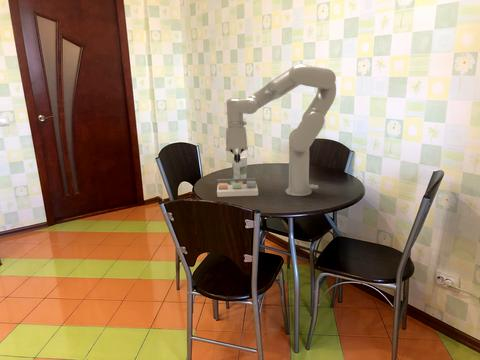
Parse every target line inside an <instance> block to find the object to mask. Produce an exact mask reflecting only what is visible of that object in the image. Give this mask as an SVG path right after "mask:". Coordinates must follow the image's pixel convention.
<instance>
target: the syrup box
mask: <svg viewBox="0 0 480 360" xmlns="http://www.w3.org/2000/svg"><path fill="white" fill-rule="evenodd" d="M231 158H232V159H231V162H232V179H242V178H248V158H247V156H245V155H240V161H239V163H238V161H237V163H236V161H234V156H233V157H231Z"/></svg>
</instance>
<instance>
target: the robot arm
mask: <svg viewBox="0 0 480 360" xmlns="http://www.w3.org/2000/svg"><path fill="white" fill-rule="evenodd" d="M336 81H337V80H336V73H335V72H334V71H333V70H332V69H329V68H323V67H318V66H312V65H307V64H303V63H299V64H295V65H294V66H292V67H290V68H289V69H288V70H286V71H284V72H283V73H281V74H280V75H278V76H277V77H275V78H274V79H272V80H270V81H269V82H268V83H267V84H266V85H264V86H263V87H262V88H260V89H259V90H257V91H256V92H254V93H252V94H251V95H250V96H248V97H246V98H240V97H239V98H238V97H234V98H233V97H231V98H228V99H227V100H226V116H227V117H226V119H227V120H226V121H227V127H226V128H225V129H226V130H225V146H226V147H225V151H226V152H230V153H232V155H233V157H234V161H236V163H237V161H238V163H239V161H240V156H241V154H243V152H245V151H248V150H249V148H248V137H247V130H246V125H247V121H244V114H245V115H246V114H247V115H253V114H255V113H256V112H257V111H258V110H259V109H260V108H263V107H264V106H267V104H269V103H270V102H272V101H275V100H277V99H280V98H281V97H283V96H285V95H286V94H288V93H290V92H291V91H293V90H294V89H296V88H297V87H298V86H301V85H302V86H305V87H306V86H307V87H311V88H317V92H316V94H315V96H314V97H313V100H312V101H311V103H310V104H309V105H308V107H307V109H306V110H305V112H304V113H303V115H302V117H301V121H300V123H299V124H298V126H297V127H296V128H294V129H293V130H292V131H290V133H289V135H288V136H289V138H288V151H289V152H288V187H287V188H286V189H285V194H286V195H289V196H293V197H305V196H306V197H307V196H310V195H311V194H312V190H318V189H319V185H318V184H316V185H315V184H310V183H309V181H310V180H309V179H310V177H309V174H310V171H309V170H310V147H311V146H312V144H313V143H314V141H315V140H316V138H317V137H318V135H319V134H320V132H321V130H322V129H323V128H324V126H325V125H324V124H325V116H326V115H327V114H328V112H329V110H330V108H331V107H332V105H333V103H334V102H335V100H336V95H337V85H336ZM236 149H237V152H236Z"/></svg>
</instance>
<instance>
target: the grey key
mask: <svg viewBox="0 0 480 360" xmlns="http://www.w3.org/2000/svg"><path fill="white" fill-rule="evenodd" d="M246 184H247V186H256V184H257V180H256V181H246Z"/></svg>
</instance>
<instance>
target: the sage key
mask: <svg viewBox="0 0 480 360" xmlns="http://www.w3.org/2000/svg"><path fill="white" fill-rule="evenodd" d="M232 184H233V188H242V183H232Z"/></svg>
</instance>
